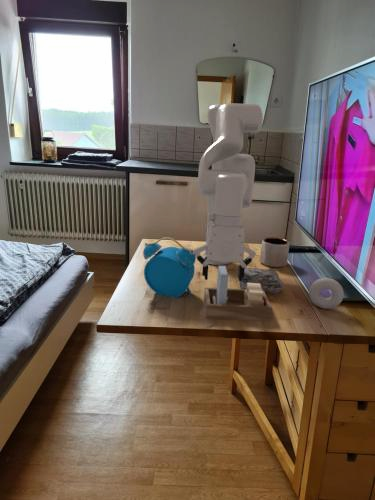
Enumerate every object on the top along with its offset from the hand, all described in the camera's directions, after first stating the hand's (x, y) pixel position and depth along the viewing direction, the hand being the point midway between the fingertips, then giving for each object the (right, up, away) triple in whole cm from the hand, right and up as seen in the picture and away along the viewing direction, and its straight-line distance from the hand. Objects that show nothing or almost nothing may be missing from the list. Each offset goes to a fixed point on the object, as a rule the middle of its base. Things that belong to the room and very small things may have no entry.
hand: (222, 278), depth 109 cm
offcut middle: (+9, -7, +3) cm, 12 cm away
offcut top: (+9, -5, +2) cm, 11 cm away
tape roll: (+32, -10, +9) cm, 35 cm away
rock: (+14, -6, +18) cm, 24 cm away
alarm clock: (-16, -6, +13) cm, 22 cm away
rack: (+4, -10, +4) cm, 12 cm away
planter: (+25, +3, +46) cm, 52 cm away
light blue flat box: (0, -9, +3) cm, 10 cm away
